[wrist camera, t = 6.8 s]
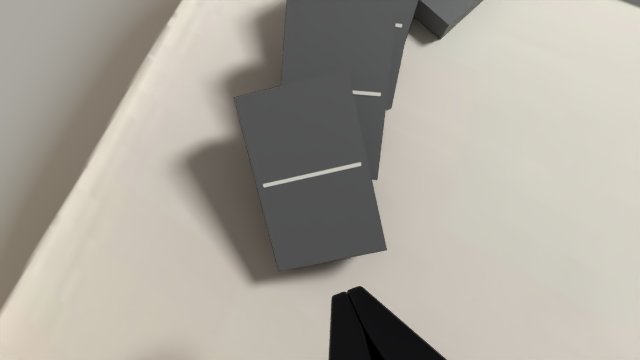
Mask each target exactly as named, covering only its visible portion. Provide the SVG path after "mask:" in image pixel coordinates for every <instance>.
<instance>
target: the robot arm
mask: <svg viewBox="0 0 640 360" xmlns="http://www.w3.org/2000/svg"><path fill="white" fill-rule="evenodd" d="M329 360H446V359H445V358H444V357H443V356H442V355H441V354H440V353H438V352H437V351H436V350H435V349H434V348H433V347H431V346H430V345H429V344H428V343H427V342H426V341H424V340H423V339H422V338H421V337H420V336H419V335H418V334H416V333H415V332H414V331H413V330H412V329H411V328H409V327H408V326H407V325H406V324H405V323H404V322H402V321H401V320H400V319H399V318H398V317H397V316H396V315H394V314H393V313H392V312H391V311H390V310H389V309H387V308H386V307H385V306H384V305H383V304H382V303H380V302H379V301H378V300H377V299H376V298H375V297H374V296H372V295H371V294H370V293H369V292H368V291H367V290H365V289H364V288H363V287H361V286H358V287H355V288H352V289H350V290H348V291H347V293H346V292H341V293H339V294H336V295H334V296H332V301H331V322H330V343H329Z"/></svg>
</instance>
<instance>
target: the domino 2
mask: <svg viewBox="0 0 640 360" xmlns="http://www.w3.org/2000/svg"><path fill="white" fill-rule="evenodd" d="M234 100H235V104H236V108H237V112H238V116H239V120H240V123H241V127H242V131H243V135H244V139H245V143H246V147H247V151H248V154H249V158H250V162H251V166H252V170H253V174H254V178H255V182H256V185H257V189H258V193H259V197H260V201H261V205H262V209H263V213H264V216H265V220H266V224H267V228H268V232H269V236H270V240H271V244H272V247H273V251H274V255H275V259H276V263H277V267H278V271H284V270H289V269H294V268H299V267H304V266H309V265H314V264H319V263H324V262H329V261H335V260H340V259H345V258H350V257H355V256H360V255H365V254H370V253H375V252H380V251H385V250H387V248H386V244H385V239H384V234H383V230H382V225H381V220H380V216H379V211H378V207H377V202H376V197H375V193H374V188H373V183H372V179H371V174H370V170H369V165H368V160H367V156H366V151H365V146H364V142H363V137H362V132H361V128H360V123H359V119H358V114H357V109H356V105H355V100H354V95H353V91H352V86H351V82H350V77H349V72H348V69H344V70H340V71H336V72H333V73H329V74H325V75H321V76H317V77H313V78H309V79H305V80H301V81H297V82H293V83H289V84H285V85H281V86H277V87H274V88H270V89H266V90H262V91H258V92H254V93H250V94H246V95H242V96H238V97H234Z"/></svg>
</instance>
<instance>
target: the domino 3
mask: <svg viewBox="0 0 640 360" xmlns="http://www.w3.org/2000/svg"><path fill="white" fill-rule="evenodd" d="M359 1H373V2H388V3H398V8H397V16H396V25H395V33H394V42H393V50H392V59H391V67H390V76H389V84H388V93H387V101H386V110H389V109H391V107H392V103H393V98H394V93H395V88H396V83H397V78H398V73H399V68H400V63H401V59H402V54H403V49H404V44H405V39H406V34H407V29H408V24H409V20H410V15H411V10H412V5H413V0H359Z"/></svg>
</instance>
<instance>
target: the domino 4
mask: <svg viewBox="0 0 640 360" xmlns="http://www.w3.org/2000/svg"><path fill="white" fill-rule="evenodd" d="M482 1H483V0H418V3H417V6H416V9H415V13H414V17H415V18H416V19H417V20H419V21H420V22H421V23H422V24H423V25H424V26H426V27H427V28H428V29H429V30H430V31H431V32H432V33H434V34H435V35H436V36H437V37H438V38H439V39H441V38H442V37H444V36H445V35H446V34H447V33H448V32H449V31H450V30H451V29H452V28H453V27H455V26H456V25H457V24H458V23H459V22H460V21H461V20H462V19H463V18H464V17H465V16H467V15H468V14H469V13H470V12H471V11H472V10H473V9H474V8H475V7H476V6H478V5H479V4H480V3H481V2H482Z"/></svg>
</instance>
